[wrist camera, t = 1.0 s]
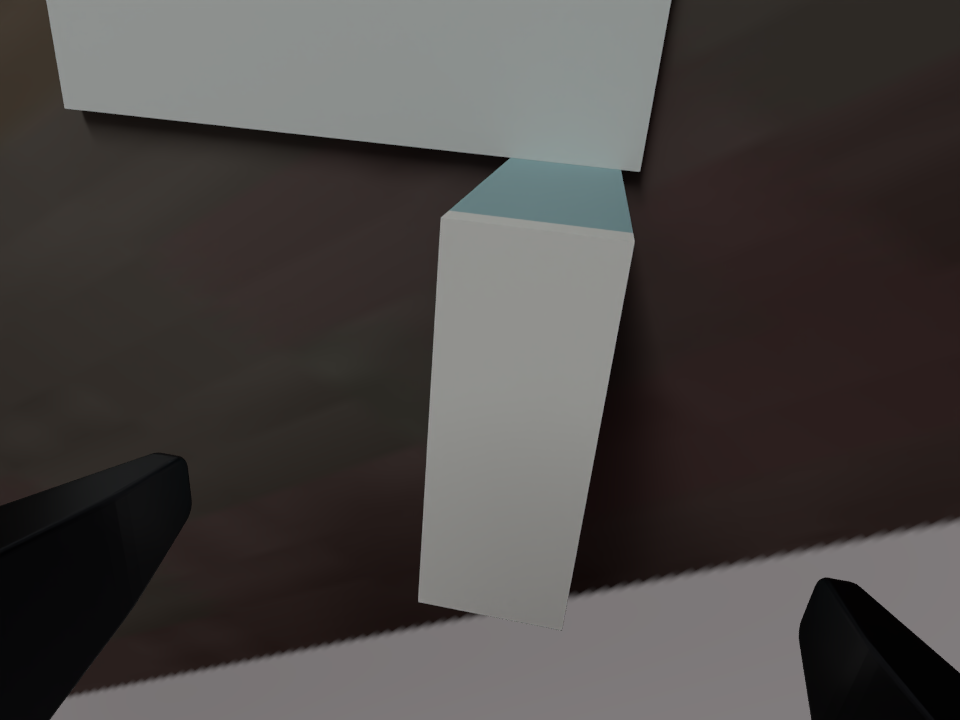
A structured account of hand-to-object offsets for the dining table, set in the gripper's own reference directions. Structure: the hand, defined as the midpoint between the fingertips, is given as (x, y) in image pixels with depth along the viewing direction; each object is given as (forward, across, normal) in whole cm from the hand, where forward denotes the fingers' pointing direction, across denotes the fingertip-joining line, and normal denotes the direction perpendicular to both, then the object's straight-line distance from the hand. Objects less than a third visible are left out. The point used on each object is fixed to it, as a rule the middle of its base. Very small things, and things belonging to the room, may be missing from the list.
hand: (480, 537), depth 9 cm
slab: (+12, 0, 0) cm, 12 cm away
